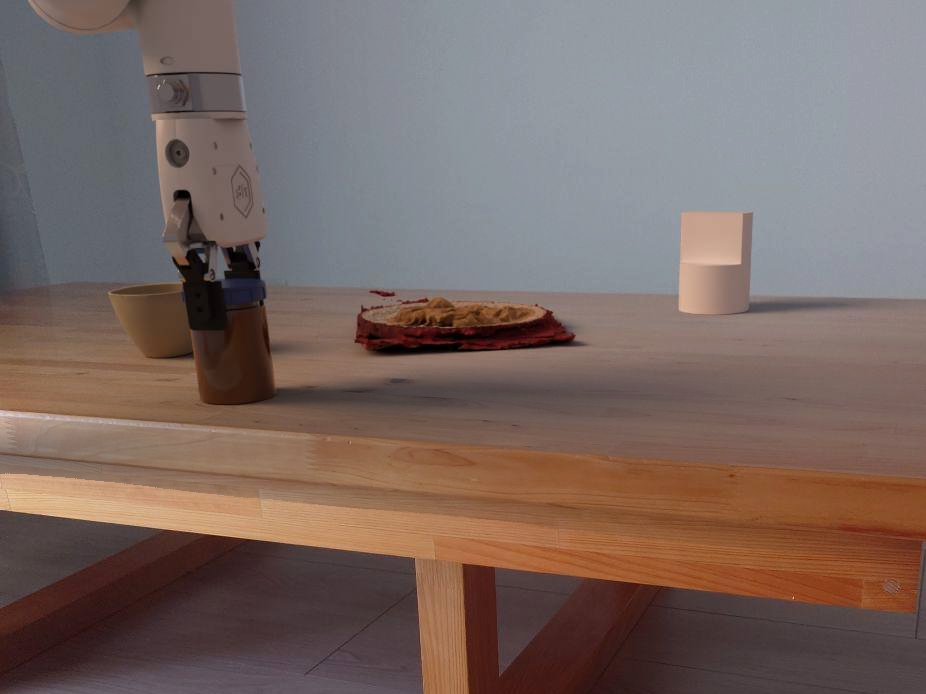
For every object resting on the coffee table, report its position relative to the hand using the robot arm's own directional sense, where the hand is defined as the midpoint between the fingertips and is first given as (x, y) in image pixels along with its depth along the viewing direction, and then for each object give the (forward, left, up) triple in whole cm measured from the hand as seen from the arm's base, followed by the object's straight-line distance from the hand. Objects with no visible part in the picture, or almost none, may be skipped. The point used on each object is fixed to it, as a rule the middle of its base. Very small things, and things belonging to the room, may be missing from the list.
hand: (228, 320), depth 88 cm
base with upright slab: (+66, 0, -7) cm, 66 cm away
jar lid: (0, 0, +3) cm, 3 cm away
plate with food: (+34, +12, -7) cm, 37 cm away
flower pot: (+4, +26, -7) cm, 27 cm away
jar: (0, 0, -7) cm, 7 cm away
